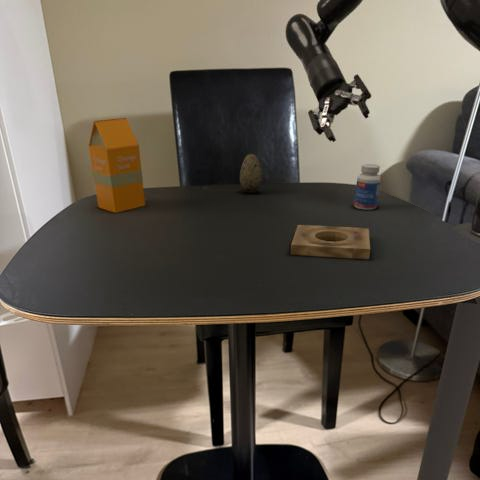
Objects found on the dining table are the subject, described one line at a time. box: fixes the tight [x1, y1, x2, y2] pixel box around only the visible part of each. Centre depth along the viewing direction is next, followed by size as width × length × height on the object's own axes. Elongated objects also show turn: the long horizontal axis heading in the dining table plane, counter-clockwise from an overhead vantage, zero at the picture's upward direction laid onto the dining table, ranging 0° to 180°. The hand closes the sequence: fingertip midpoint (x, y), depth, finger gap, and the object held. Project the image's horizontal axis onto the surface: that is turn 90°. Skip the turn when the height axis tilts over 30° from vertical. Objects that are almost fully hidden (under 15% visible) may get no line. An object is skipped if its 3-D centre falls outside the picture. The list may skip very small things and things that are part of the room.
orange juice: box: [88, 117, 146, 214], centre depth 114 cm, size 8×9×20 cm
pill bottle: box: [353, 163, 382, 211], centre depth 113 cm, size 6×5×10 cm
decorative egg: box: [239, 153, 263, 194], centre depth 127 cm, size 6×6×10 cm
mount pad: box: [290, 224, 371, 260], centre depth 91 cm, size 14×12×2 cm
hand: (349, 128), depth 109 cm, fingers open, 8 cm apart
